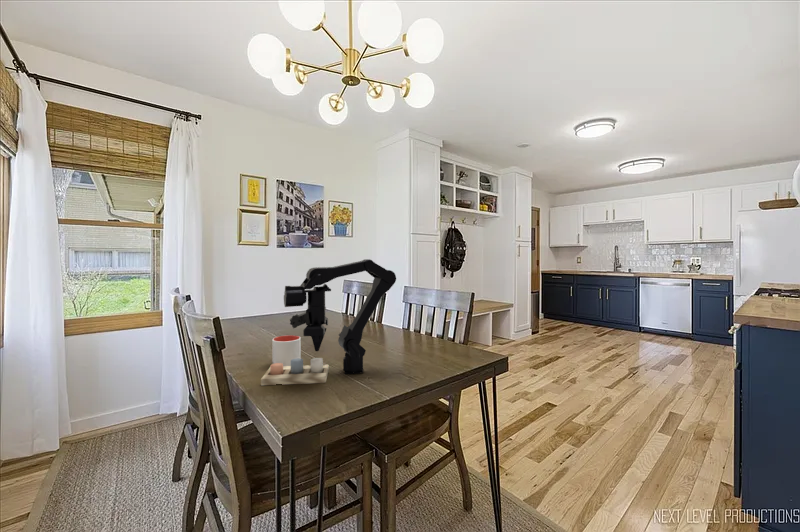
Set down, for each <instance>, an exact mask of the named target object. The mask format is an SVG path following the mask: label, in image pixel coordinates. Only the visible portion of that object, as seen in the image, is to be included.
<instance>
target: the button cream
mask: <svg viewBox="0 0 800 532" xmlns="http://www.w3.org/2000/svg"><path fill="white" fill-rule="evenodd" d="M323 359H324V358H323V357H313V358H311V359H310V365H311V373H321V372H322V371H323V365H324V360H323Z"/></svg>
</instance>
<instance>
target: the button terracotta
mask: <svg viewBox="0 0 800 532" xmlns="http://www.w3.org/2000/svg"><path fill="white" fill-rule="evenodd" d="M269 368H270V375H283V364H282V363H274V364H273V363H272V364H270V365H269Z"/></svg>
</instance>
